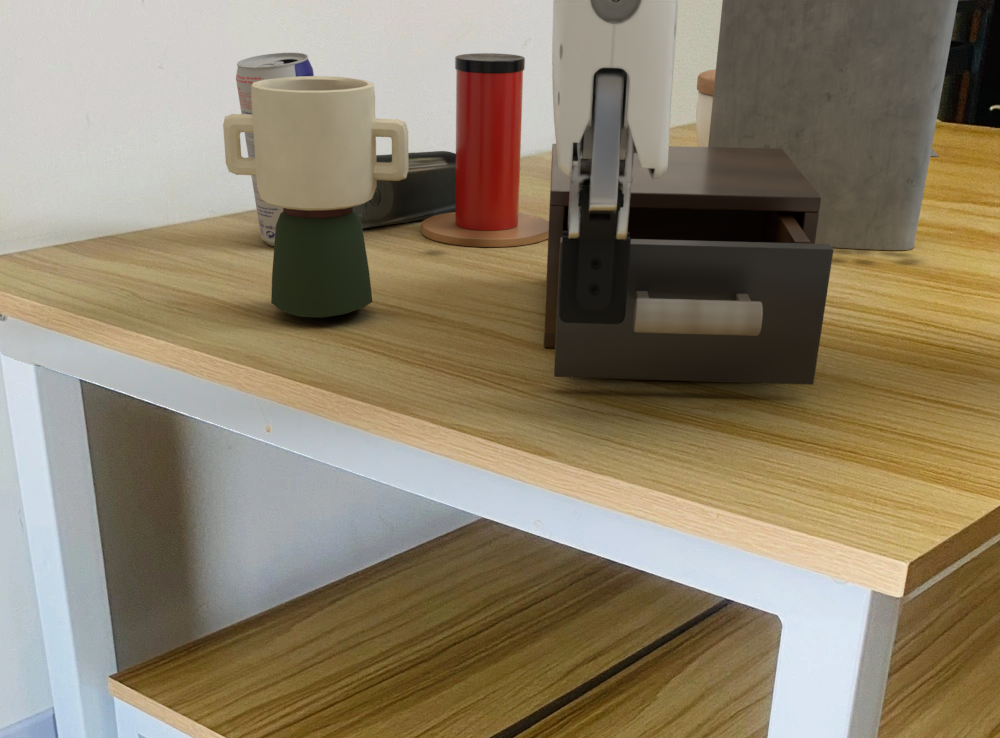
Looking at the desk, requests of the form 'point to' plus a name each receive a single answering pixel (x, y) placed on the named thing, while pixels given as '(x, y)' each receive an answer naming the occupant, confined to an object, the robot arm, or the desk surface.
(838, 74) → the grey upright slab
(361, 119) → the beige green vessel
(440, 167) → the dark grey stapler
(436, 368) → the desk surface
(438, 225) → the coaster
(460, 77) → the tin
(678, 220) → the drawer
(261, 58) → the energy drink
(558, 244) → the cabinet
